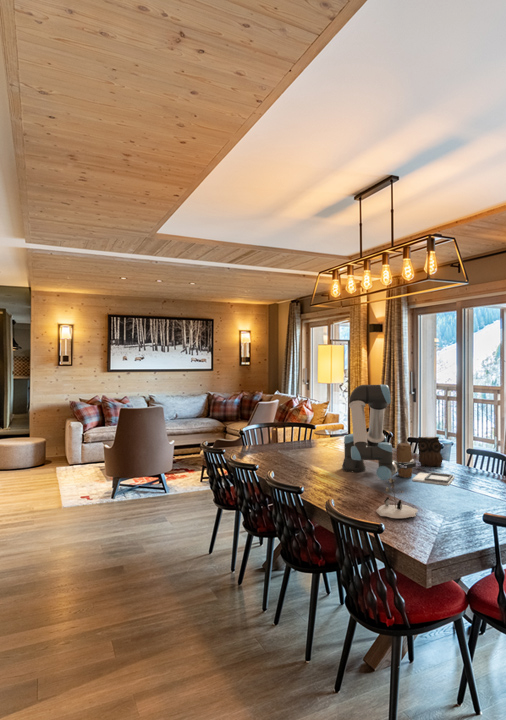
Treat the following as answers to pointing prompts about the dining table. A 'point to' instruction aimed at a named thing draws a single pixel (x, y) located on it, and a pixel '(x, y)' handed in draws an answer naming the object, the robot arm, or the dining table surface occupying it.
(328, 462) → the dining table surface
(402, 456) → the block
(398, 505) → the figurine
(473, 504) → the dining table surface
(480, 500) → the dining table surface
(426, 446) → the owl
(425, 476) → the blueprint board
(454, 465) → the dining table surface
